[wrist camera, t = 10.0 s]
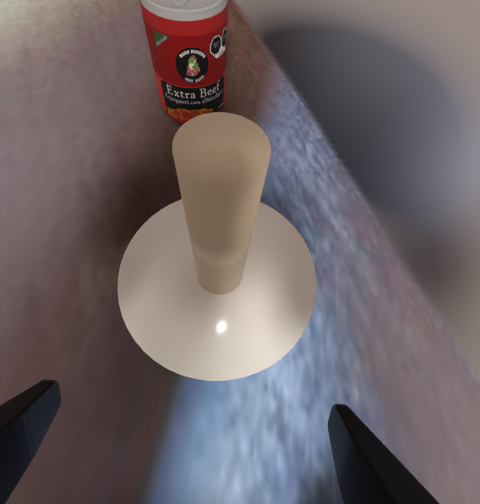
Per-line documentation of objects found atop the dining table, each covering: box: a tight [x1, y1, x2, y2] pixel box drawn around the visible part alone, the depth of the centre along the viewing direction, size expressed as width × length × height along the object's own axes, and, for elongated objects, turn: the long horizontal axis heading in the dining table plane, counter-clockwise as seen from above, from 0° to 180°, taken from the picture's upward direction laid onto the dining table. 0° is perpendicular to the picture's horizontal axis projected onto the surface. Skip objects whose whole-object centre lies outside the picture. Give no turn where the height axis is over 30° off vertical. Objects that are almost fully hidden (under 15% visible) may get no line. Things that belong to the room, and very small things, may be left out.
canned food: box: [140, 0, 228, 124], centre depth 28 cm, size 8×8×11 cm
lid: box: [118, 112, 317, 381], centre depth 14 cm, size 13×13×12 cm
